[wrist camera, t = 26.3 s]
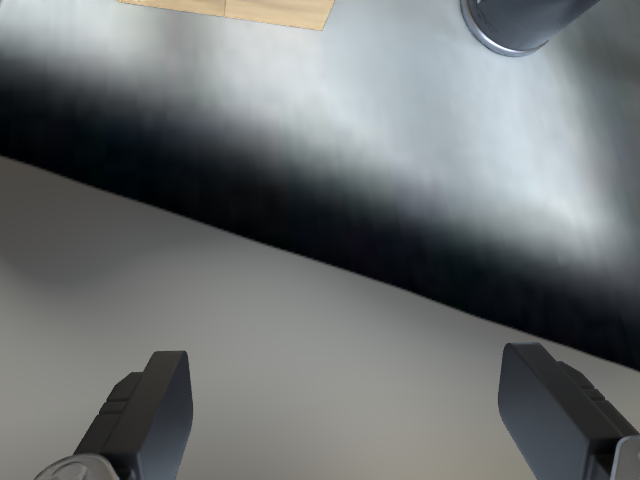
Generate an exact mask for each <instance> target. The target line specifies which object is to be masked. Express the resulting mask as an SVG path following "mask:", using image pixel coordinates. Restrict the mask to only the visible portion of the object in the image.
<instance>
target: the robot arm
mask: <svg viewBox="0 0 640 480" xmlns="http://www.w3.org/2000/svg"><path fill="white" fill-rule="evenodd" d="M599 1H600V0H461V8H462V12H463V16H464V19H465V21H466V23H467V25H468V27H469V29H470V30H471V32H472V33H473V35H474V36H475V37H476V38H477V39H478V40H479V41H480V42H481V43H482V44H483V45H485V46H486V47H487V48H489V49H490V50H492V51H494V52H496V53H499V54H501V55H505V56H511V57H520V56H525V55H528V54H531V53H533V52H535V51H536V50H538V49H539V48H540V47H542V46H543V45H544V44H545V43H546V42H548V40H549V39H550V38H551V37H553V36H554V35H555V34H557V33H558V32H559V31H561V30H562V29H563V28H565V27H566V26H567V25H569V24H570V23H571V22H573V21H574V20H575V19H576V18H578V17H579V16H580V15H582V14H583V13H584V12H586V11H587V10H588V9H589V8H591V7H592V6H593V5H595V4H596V3H597V2H599ZM498 406H499V412H500V415H501V418H502V421H503V422H504V424H505V426H506V428H507V430H508V431H509V433H510V435H511V436H512V438H513V440H514V441H515V443H516V444H517V446H518V448H519V450H520V451H521V453H522V455H523V456H524V458H525V460H526V462H527V463H528V465H529V467H530V468H531V470H532V472H533V473H534V475H535V477H536V478H537V480H640V434H639V432H638V431H637V430H636V429H635V428H634V427H633V426H632V425H631V424H630V423H629V422H628V421H627V420H626V419H625V418H624V417H623V416H622V415H621V414H620V413H619V412H618V411H617V410H616V409H615V407H614V406H613V405H612V404H611V403H610V402H609V401H606V400H605V397H604V396H603V395H602V394H601V393H600V392H599V391H598V390H597V389H594V386H593V385H592V384H591V382H590V381H589V380H588V379H587V378H586V377H585V376H584V375H583V374H582V373H581V372H579V371H577V370H576V369H574V368H572V367H570V366H569V365H567V364H565V363H564V362H562V361H558V362H557V361H556V360H555V359H554V358H553V357H552V356H551V355H550V354H549V353H548V352H547V351H546V349H545V348H544V347H543V346H542V345H541V344H540V343H537V342H530V343H529V342H528V343H507V344H506V345H505V347H504V351H503V358H502V366H501V375H500V383H499V392H498ZM192 420H193V401H192V391H191V382H190V371H189V362H188V355H187V353H186V351H157V352H154V353H153V355H152V357H151V358H150V360H149V362H148V364H147V366H146V367H145V369H144V371H143V372H131V373H130V374H129V375H128V376H126V377H125V378H124V379H123V380H121V381H120V382H119V383H118V384H116V385H115V387H114V388H113V390H112V392H111V393H110V395H109V396H108V398H107V401H106V402H105V403H104V404H103V406H102V408H101V409H100V411H99V415H97V416H96V417H95V419H94V421H93V423H92V424H91V426H90V427H89V429H88V431H87V432H86V434H85V436H84V437H83V439H82V440H81V442H80V444H79V445H78V447H77V449H76V450H75V452H74V453H73V455H72V456H69V457H66V458H63V459H61V460H59V461H57V462H55V463H53V464H51V465H50V466H48V467H47V468H45V469H44V470H43V471H42V472H40V473H39V474H38V475H37V476H36V477H35V479H34V480H175V478H176V475H177V472H178V469H179V466H180V463H181V459H182V456H183V453H184V450H185V447H186V444H187V441H188V437H189V434H190V431H191V426H192Z"/></svg>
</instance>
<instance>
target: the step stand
mask: <svg viewBox="0 0 640 480" xmlns="http://www.w3.org/2000/svg"><path fill="white" fill-rule="evenodd" d="M117 1H118V2H122V3H129V4H137V5H144V6H151V7H158V8H165V9H172V10H179V11H186V12H193V13H200V14H207V15H214V16H221V17H224V16H225V17H229V18H236V19H243V20H250V21H257V22H264V23H271V24H278V25H285V26H292V27H299V28H306V29H313V30H320V31H322V29H323V27H324V25H325V22H326V20H327V18H328V15H329V13H330V11H331V8H332V6H333V4H334V1H335V0H117Z"/></svg>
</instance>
